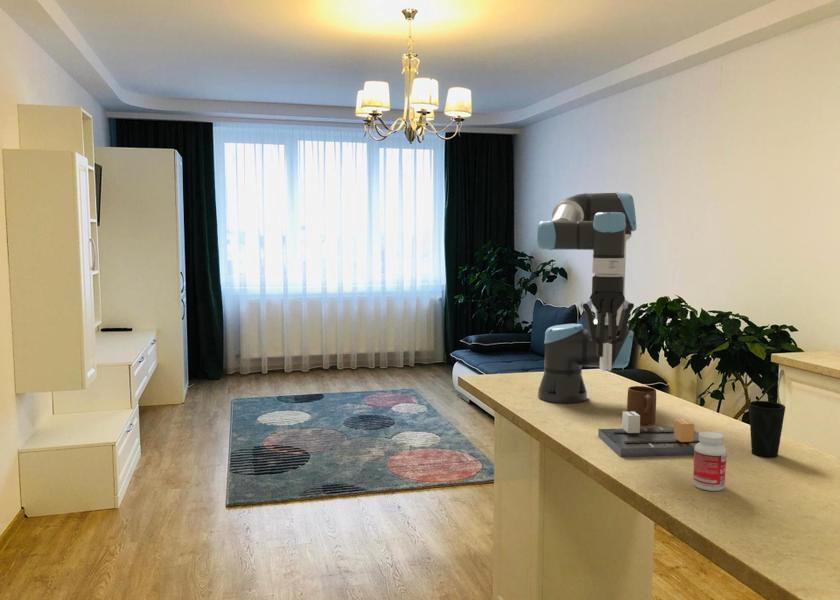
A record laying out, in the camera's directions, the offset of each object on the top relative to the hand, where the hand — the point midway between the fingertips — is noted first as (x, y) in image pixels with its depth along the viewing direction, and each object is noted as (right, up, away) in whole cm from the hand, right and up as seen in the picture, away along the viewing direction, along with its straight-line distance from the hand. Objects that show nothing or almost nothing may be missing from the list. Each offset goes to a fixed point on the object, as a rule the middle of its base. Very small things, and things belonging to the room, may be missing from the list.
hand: (605, 369), depth 172 cm
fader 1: (+7, -16, +2) cm, 17 cm away
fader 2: (+17, -16, -5) cm, 25 cm away
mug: (+15, -17, +17) cm, 28 cm away
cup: (+36, -20, -8) cm, 41 cm away
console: (+12, -19, -1) cm, 22 cm away
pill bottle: (+14, -22, -28) cm, 38 cm away
